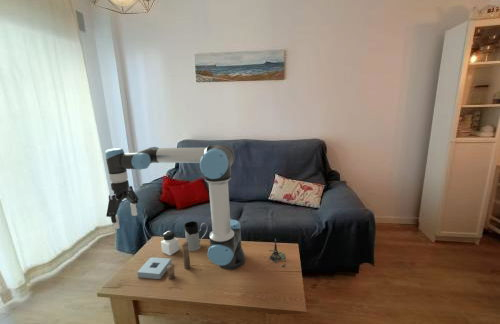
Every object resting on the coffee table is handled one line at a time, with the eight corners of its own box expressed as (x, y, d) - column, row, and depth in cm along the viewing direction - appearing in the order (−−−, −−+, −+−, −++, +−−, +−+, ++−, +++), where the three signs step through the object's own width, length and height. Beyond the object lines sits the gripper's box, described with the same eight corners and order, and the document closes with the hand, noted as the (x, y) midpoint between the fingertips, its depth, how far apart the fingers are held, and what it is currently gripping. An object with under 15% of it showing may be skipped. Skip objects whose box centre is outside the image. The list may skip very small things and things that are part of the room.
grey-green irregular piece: (285, 269, 122) (285, 246, 119) (266, 267, 124) (265, 244, 121) (286, 252, 136) (286, 230, 133) (268, 250, 138) (268, 230, 135)
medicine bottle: (179, 249, 141) (177, 231, 139) (170, 256, 136) (167, 237, 133) (171, 246, 145) (169, 228, 142) (162, 252, 139) (159, 233, 137)
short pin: (175, 275, 120) (174, 264, 118) (172, 279, 117) (171, 268, 115) (170, 274, 120) (168, 264, 119) (167, 279, 117) (165, 268, 116)
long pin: (191, 265, 127) (188, 242, 123) (189, 269, 124) (186, 245, 120) (185, 265, 127) (183, 241, 124) (183, 269, 124) (180, 245, 121)
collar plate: (171, 263, 129) (170, 258, 128) (160, 279, 117) (159, 273, 117) (151, 262, 131) (150, 257, 130) (138, 277, 119) (137, 272, 119)
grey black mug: (184, 245, 145) (181, 223, 142) (206, 238, 152) (204, 217, 148) (187, 252, 138) (185, 229, 134) (211, 245, 144) (209, 223, 141)
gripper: (129, 173, 126) (134, 210, 131) (91, 189, 102) (100, 234, 107) (142, 173, 125) (147, 210, 130) (107, 189, 101) (115, 234, 106)
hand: (126, 221), depth 118 cm, fingers open, 13 cm apart
